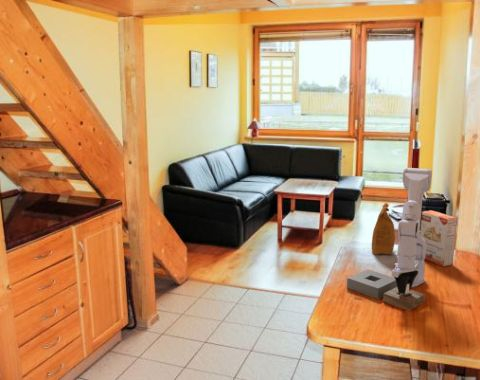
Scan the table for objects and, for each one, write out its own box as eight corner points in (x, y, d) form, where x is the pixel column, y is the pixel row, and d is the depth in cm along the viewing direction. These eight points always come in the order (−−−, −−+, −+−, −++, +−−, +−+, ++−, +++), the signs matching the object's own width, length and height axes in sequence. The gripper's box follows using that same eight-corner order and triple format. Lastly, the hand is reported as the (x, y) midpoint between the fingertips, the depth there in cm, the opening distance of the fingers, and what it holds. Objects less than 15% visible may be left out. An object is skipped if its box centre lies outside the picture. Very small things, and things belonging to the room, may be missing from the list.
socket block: (398, 293, 178) (398, 285, 177) (424, 302, 170) (424, 294, 170) (382, 301, 171) (383, 293, 171) (409, 310, 164) (409, 302, 163)
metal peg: (402, 299, 173) (403, 280, 172) (409, 302, 171) (411, 283, 169) (397, 301, 171) (398, 282, 170) (405, 304, 169) (406, 285, 167)
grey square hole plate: (367, 279, 192) (367, 269, 191) (397, 289, 182) (398, 278, 181) (346, 288, 183) (347, 277, 182) (377, 299, 173) (378, 288, 172)
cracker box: (417, 257, 217) (421, 211, 212) (428, 255, 219) (431, 209, 215) (442, 267, 204) (447, 218, 200) (453, 265, 207) (457, 217, 202)
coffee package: (394, 248, 228) (397, 202, 224) (393, 257, 216) (396, 208, 212) (372, 246, 231) (374, 201, 227) (370, 254, 220) (372, 207, 215)
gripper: (407, 246, 175) (404, 282, 178) (384, 255, 166) (382, 293, 168) (426, 251, 170) (423, 288, 173) (403, 261, 160) (401, 300, 163)
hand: (404, 291), depth 170 cm, fingers closed on metal peg, 3 cm apart
